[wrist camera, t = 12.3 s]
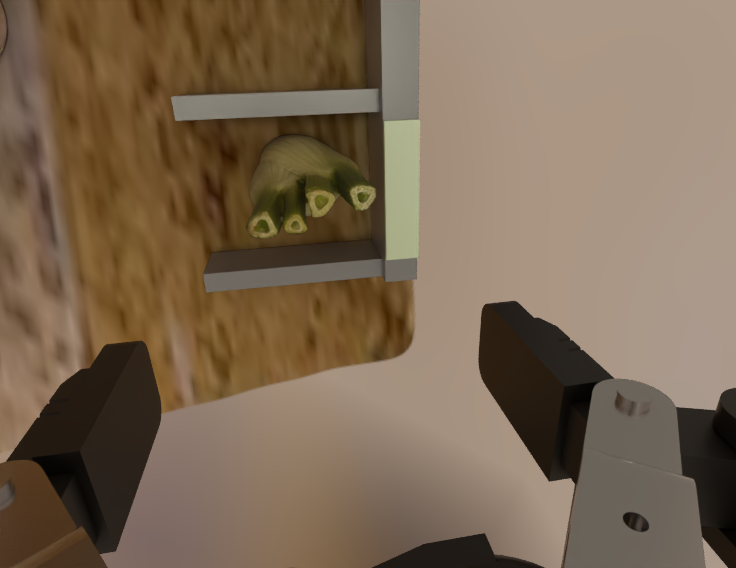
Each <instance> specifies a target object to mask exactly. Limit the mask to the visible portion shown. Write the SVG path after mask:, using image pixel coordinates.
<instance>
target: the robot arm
mask: <svg viewBox="0 0 736 568" xmlns="http://www.w3.org/2000/svg"><path fill="white" fill-rule="evenodd" d="M479 369H480V374H481V377H482V380H483V382H484V383H485V385H486V387H487V388H488V390H489V391H490V393H491V394H492V396H493V397H494V399H495V400H496V402H497V403H498V405H499V406H500V408H501V409H502V411H503V412H504V414H505V415H506V417H507V418H508V420H509V422H510V423H511V424H512V426H513V428H514V429H515V431H516V432H517V433H518V435H519V437H520V438H521V440H522V441H523V443H524V444H525V446H526V447H527V449H528V450H529V452H530V453H531V455H532V456H533V458H534V459H535V461H536V462H537V464H538V465H539V467H540V468H541V470H542V471H543V473H544V474H545V476H546V477H547V479H548V481H556V480H562V479H568V478H571V479H572V481H573V482H574V483H575V489H574V493H573V499H572V505H571V511H570V517H569V523H568V529H567V535H566V540H565V546H564V552H563V559H562V564H561V568H706V567H705V558H704V550H703V542H702V537H703V538H704V540H705V541H706V542H707V543H708V544H709V546H710V547H711V548H712V549H713V550H714V551H715V553H716V554H717V555H718V556H719V557H720V559H721V560H722V561H723V562H724V563H725V565H726V566H727V567H728V568H736V388H733V389H729V390H726V391H724V392H723V393H722V394H721V396H720V400H719V402H718V406H717V409H716V410H704V409H692V408H679V407H676V406H675V405H674V403H673V402H672V400H671V399H670V398H669V397H668V396H667V395H665V394H664V393H662V392H661V391H659V390H658V389H656V388H654V387H652V386H649V385H647V384H644V383H641V382H637V381H634V380H628V379H614V378H613V377H612V376H611V375H610V374H609V373H608V372H607V371H606V370H604V369H603V368H602V367H601V366H600V365H599V364H598V363H597V362H596V361H595V360H593V359H592V358H591V357H590V356H589V355H588V354H587V353H586V352H585V351H583V350H581V349H580V347H579V346H578V345H577V344H576V343H575V342H574V341H570V338H569V337H568V336H567V335H566V334H565V333H564V332H563V331H561V330H560V329H559V328H558V327H557V326H555V325H553V324H551V323H548V322H547V321H545V320H542V319H540V318H534V317H533V316H532V315H530V314H529V313H528V312H527V311H526V310H525V309H524V308H523V307H522V306H521V305H520V304H519V303H518V302H516V301H508V302H499V303H491V304H485V305H484V307H483V309H482V315H481V329H480V344H479ZM49 401H50V403H49V404H47V405H46V406H45V407H44V409H43V410H42V412H41V413H40V418H37V419H36V420H35V422H34V423H33V424H32V426H31V427H30V429H29V430H28V431H27V433H26V434H25V436H24V437H23V438H22V440H21V441H20V443H19V444H18V445H17V447H16V448H15V450H14V451H13V453H12V454H11V455H10V457H9V458H8V460H7V461H6V462H4V463H1V464H0V568H107V566H106V564H105V562H104V561H103V559H102V557H101V556H100V554H102V553H109V552H114V551H116V549H117V547H118V544H119V541H120V538H121V535H122V532H123V529H124V526H125V524H126V521H127V518H128V515H129V512H130V509H131V506H132V503H133V500H134V497H135V495H136V492H137V489H138V486H139V483H140V480H141V477H142V474H143V471H144V469H145V466H146V463H147V460H148V457H149V454H150V451H151V449H152V445H153V443H154V440H155V437H156V434H157V431H158V428H159V425H160V421H161V400H160V395H159V391H158V388H157V384H156V380H155V376H154V372H153V368H152V364H151V360H150V356H149V352H148V349H147V346H146V344H145V343H144V342H143V341H134V342H124V343H115V344H107V345H105V346H104V347H103V349H102V350H101V352H100V353H99V355H98V356H97V358H96V359H95V361H94V362H93V364H92V365H91V367H90V368H88V369H81V370H79V371H78V372H77V373H75V374H74V375H73V376H71V377H70V378H69V379H67V380H66V381H65V382H63V383H62V384H61V385H60V386H59V388H58V389H57V391H56V392H55V393H54V395H53V396H52V398H51V399H50V400H49ZM373 568H544V567H542V566H539V565H537V564H534V563H532V562H528V561H525V560H522V559H518V558H514V557H509V556H503V555H494V553H493V551H492V548H491V546H490V544H489V542H488V539H487V537H486V535H485V534H478V535H473V536H467V537H461V538H455V539H450V540H444V541H438V542H433V543H427V544H423V545H421V546H419V547H416V548H414V549H412V550H410V551H408V552H405V553H403V554H401V555H399V556H397V557H395V558H392V559H390V560H388V561H386V562H383V563H381V564H379V565H377V566H375V567H373Z"/></svg>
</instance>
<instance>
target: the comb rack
mask: <svg viewBox="0 0 736 568" xmlns="http://www.w3.org/2000/svg"><path fill="white" fill-rule="evenodd" d="M419 6H420V0H365V33H366V68H367V87H366V88H338V89H311V90H284V91H257V92H230V93H203V94H183V95H177V96H171V100H172V105H173V111H174V116H175V121H182V120H205V119H227V118H250V117H272V116H295V115H318V114H340V113H363V112H368V137H369V171H370V183H371V184H372V185H374V187H375V188H376V198H375V200H374V202H373V203H372V204H371V205H370V206H371V240H359V241H346V242H334V243H322V244H310V245H297V246H285V247H273V248H261V249H248V250H236V251H224V252H212V253H211V256H210V258H209V261H208V263H207V266H206V268H205V271H204V273H203V276H204V282H205V287H206V292H216V291H227V290H238V289H249V288H260V287H270V286H281V285H292V284H303V283H314V282H324V281H335V280H346V279H357V278H368V277H378V276H383V278H384V280H385V282H392V281H403V280H413V279H417V258H418V257H419V184H420V179H419V178H420V119H418V109H419V108H418V107H419V105H418V104H419V100H418V99H419V18H420V7H419Z"/></svg>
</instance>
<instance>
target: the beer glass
mask: <svg viewBox="0 0 736 568" xmlns="http://www.w3.org/2000/svg"><path fill="white" fill-rule="evenodd" d="M6 37H7V23H6V17H5V13H4V10H3V7H2V4H1V2H0V55H1V53H2V51H3V49H4V46H5V42H6Z"/></svg>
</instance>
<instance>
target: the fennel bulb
mask: <svg viewBox="0 0 736 568" xmlns="http://www.w3.org/2000/svg"><path fill="white" fill-rule="evenodd" d="M249 195H250V198H251V200H252V202H253V204H254V205H255V208H254V211H253V213H252V216H251V217H250V219H249V221H248V223H247V226H246V229H247V230H248V232H249V234H251V236H253V237H255V238H260V239H265V238H272V237H275V236H276V235H277V234H279V231H280V229H281V226H282V224H283V229H284V230H285V231H286V232H287V233H289V234H292V235H298V234H302V233H305V232H306V230H307V226H306V216H311V215H312V216H313V217H321V216H324V215H325V214H326V213H327V212H328V211H329V210H330V208H331V207H332V206H333V204H334V202H335V200H336V199H337V198H338V197H339V196H340V195H341V196H342V197H343V198H344V199H345V200H346V201H347V202H348V203H349V204H350V205H351V206H353V207H354V209H355V210H356V211H358V210H361V211H364V210H366V209H368V208H369V207H370V205H371V204H372V203H373V202H374V200H375V198H376V188H375V187H374V185H372V184H371V183H369V182H368V181H367V180H366V179H365V178H364V177H363V176H362V174H361V172H360V170H359V167H358V165H357V164H356V163H355V162H354V161H352V160H351V159H350V158H349V157H347V156H345V155H342V154H340V153H338V152H337V151H335V150H334V149H332V148H330V147H329V146H327V145H326V144H323V143H322V142H320V141H318V140H316V139H314V138H312V137H309V136H305V135H284V136H280V137H277V138H275V139H274V140H273V141H271V142H269V143H268V144H267V145H266V146H265V148H264V150H263V152H262V155H261V159H260V162H259V165H258V166H257V168H256V170H255V171H254V174H253V177H252V180H251V183H250V186H249Z"/></svg>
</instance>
